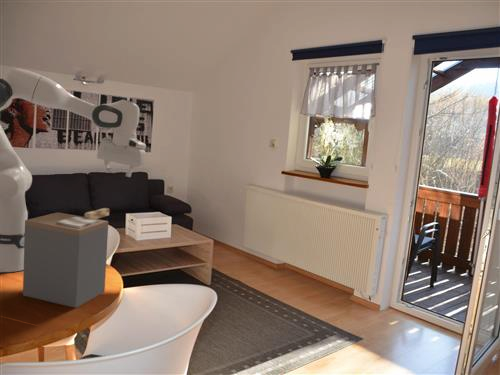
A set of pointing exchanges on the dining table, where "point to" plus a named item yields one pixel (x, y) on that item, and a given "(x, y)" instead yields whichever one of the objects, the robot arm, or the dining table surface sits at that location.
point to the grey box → (64, 260)
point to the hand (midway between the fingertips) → (117, 174)
